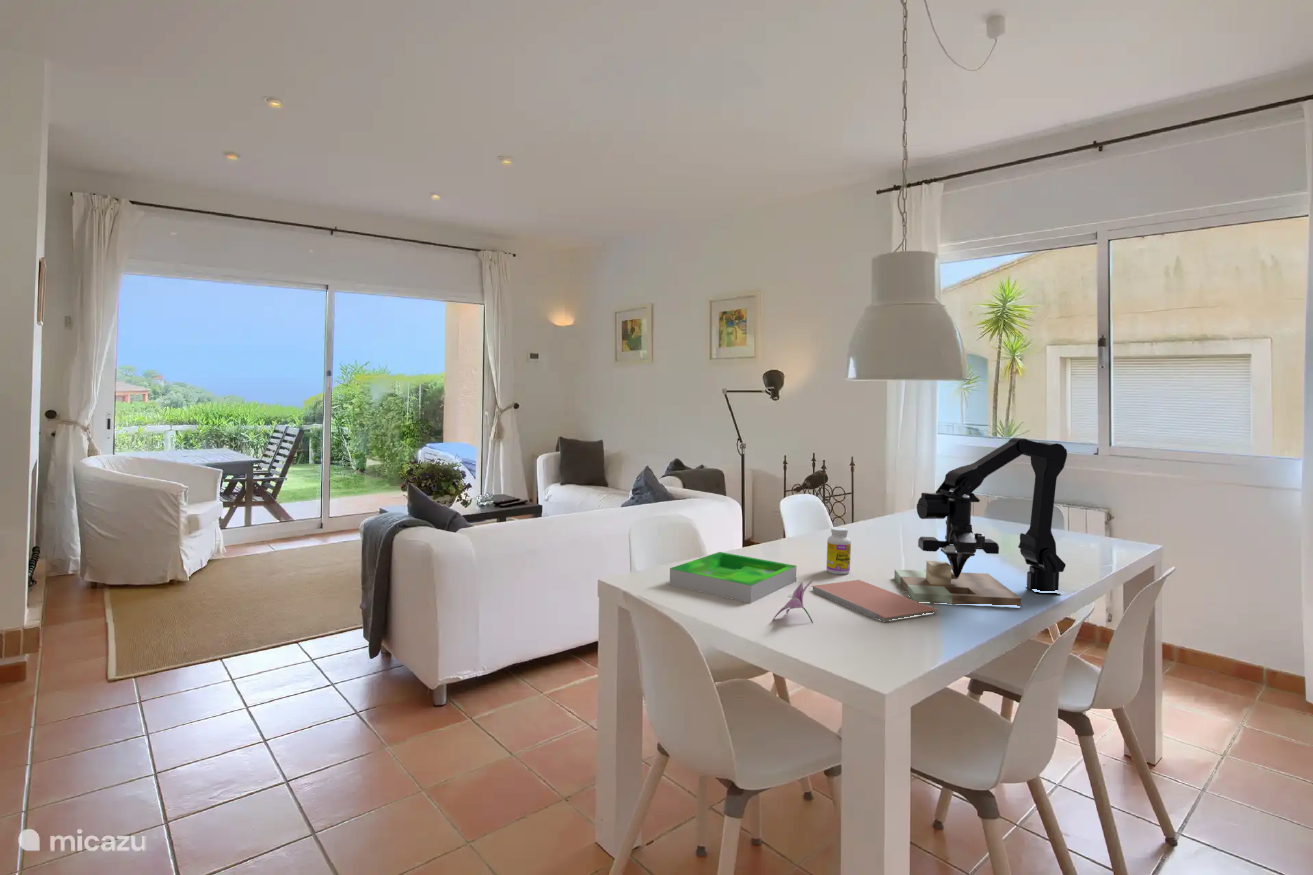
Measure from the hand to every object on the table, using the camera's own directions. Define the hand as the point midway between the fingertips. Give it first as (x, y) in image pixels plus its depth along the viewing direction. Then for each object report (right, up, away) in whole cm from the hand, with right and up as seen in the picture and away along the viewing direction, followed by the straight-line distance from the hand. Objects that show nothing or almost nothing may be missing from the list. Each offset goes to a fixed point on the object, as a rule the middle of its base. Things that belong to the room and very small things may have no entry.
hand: (956, 577), depth 176 cm
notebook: (-26, -5, -9) cm, 28 cm away
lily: (-47, -5, -22) cm, 52 cm away
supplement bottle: (-26, -3, +19) cm, 32 cm away
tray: (-58, -4, +7) cm, 58 cm away
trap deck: (0, -4, 0) cm, 4 cm away
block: (-4, -1, +1) cm, 5 cm away
